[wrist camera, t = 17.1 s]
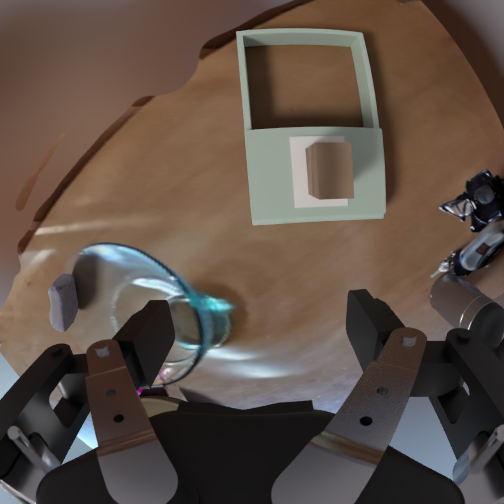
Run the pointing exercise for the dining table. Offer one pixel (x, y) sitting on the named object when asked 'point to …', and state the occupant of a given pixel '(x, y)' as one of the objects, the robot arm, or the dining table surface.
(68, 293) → the stone block
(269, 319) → the dining table surface
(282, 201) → the box
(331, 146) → the wood block
